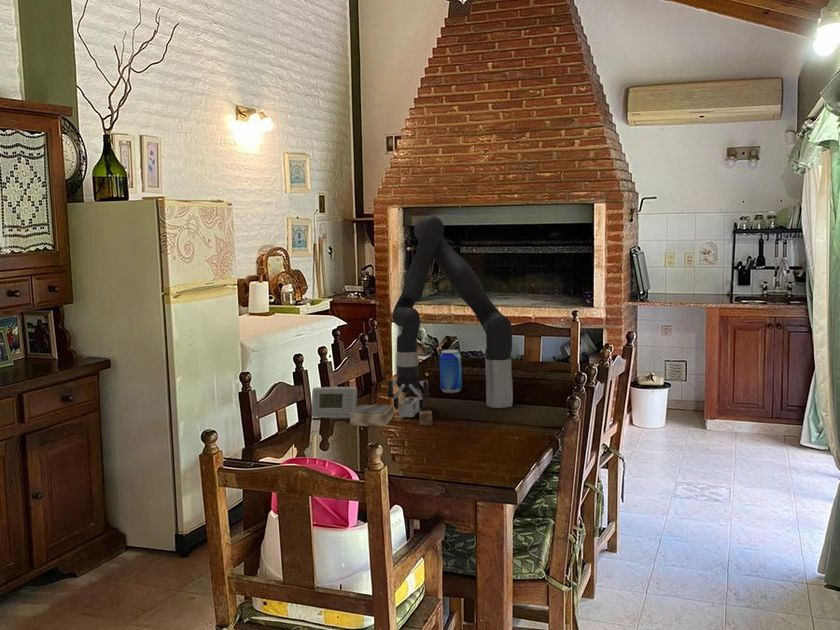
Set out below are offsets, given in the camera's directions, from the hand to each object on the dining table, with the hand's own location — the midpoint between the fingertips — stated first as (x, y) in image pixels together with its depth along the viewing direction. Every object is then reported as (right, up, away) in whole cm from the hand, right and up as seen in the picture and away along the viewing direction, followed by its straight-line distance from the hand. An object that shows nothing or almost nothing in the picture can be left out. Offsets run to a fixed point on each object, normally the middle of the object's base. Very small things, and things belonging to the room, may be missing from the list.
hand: (408, 409), depth 272 cm
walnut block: (+6, -3, -13) cm, 15 cm away
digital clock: (-26, -3, -1) cm, 26 cm away
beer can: (+16, +3, +33) cm, 37 cm away
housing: (0, -2, 0) cm, 2 cm away
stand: (-12, -3, -8) cm, 15 cm away
